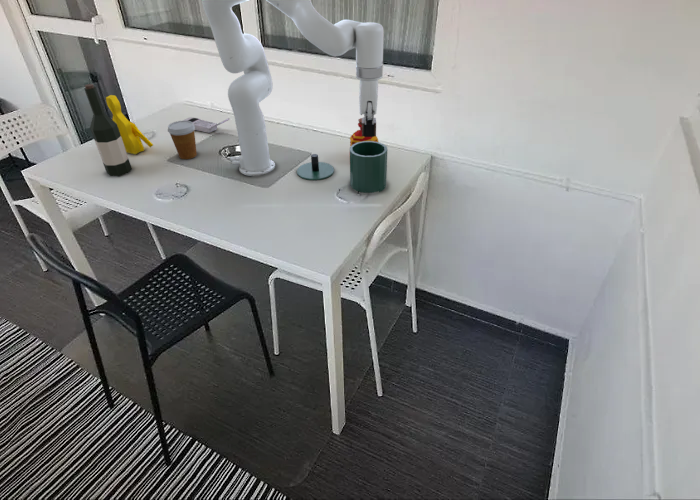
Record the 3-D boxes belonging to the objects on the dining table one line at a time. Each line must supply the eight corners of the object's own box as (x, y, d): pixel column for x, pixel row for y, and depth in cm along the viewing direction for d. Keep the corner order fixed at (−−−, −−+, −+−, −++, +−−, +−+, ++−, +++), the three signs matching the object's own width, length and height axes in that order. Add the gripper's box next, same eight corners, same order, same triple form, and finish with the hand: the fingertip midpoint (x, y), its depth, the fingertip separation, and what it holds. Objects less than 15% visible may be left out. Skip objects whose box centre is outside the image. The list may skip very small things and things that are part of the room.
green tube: (350, 194, 145) (349, 157, 137) (350, 177, 155) (349, 141, 147) (386, 194, 145) (388, 156, 137) (384, 176, 154) (386, 140, 147)
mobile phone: (221, 122, 179) (173, 113, 188) (223, 137, 183) (176, 126, 192) (230, 117, 184) (183, 108, 193) (232, 131, 187) (186, 122, 196)
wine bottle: (137, 168, 162) (109, 82, 144) (118, 178, 156) (87, 90, 138) (120, 164, 165) (90, 80, 147) (101, 173, 159) (68, 87, 141)
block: (362, 136, 137) (362, 123, 135) (361, 131, 141) (361, 117, 138) (376, 136, 137) (376, 122, 135) (375, 130, 141) (375, 117, 138)
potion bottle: (375, 167, 160) (376, 126, 151) (347, 165, 162) (346, 124, 153) (380, 154, 168) (381, 115, 159) (352, 152, 170) (352, 113, 161)
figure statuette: (159, 151, 173) (142, 93, 160) (144, 159, 168) (125, 100, 154) (124, 144, 179) (105, 87, 166) (109, 152, 173) (88, 94, 160)
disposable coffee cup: (169, 159, 168) (160, 128, 161) (186, 148, 175) (178, 118, 168) (190, 163, 165) (182, 131, 158) (206, 152, 172) (199, 121, 165)
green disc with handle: (295, 182, 152) (293, 164, 148) (299, 164, 162) (297, 147, 158) (333, 181, 152) (332, 163, 148) (334, 164, 162) (334, 147, 158)
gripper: (355, 63, 135) (356, 123, 146) (356, 80, 121) (356, 144, 132) (381, 63, 134) (379, 122, 146) (384, 80, 121) (382, 144, 132)
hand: (368, 132), depth 139 cm, fingers closed on block, 4 cm apart
